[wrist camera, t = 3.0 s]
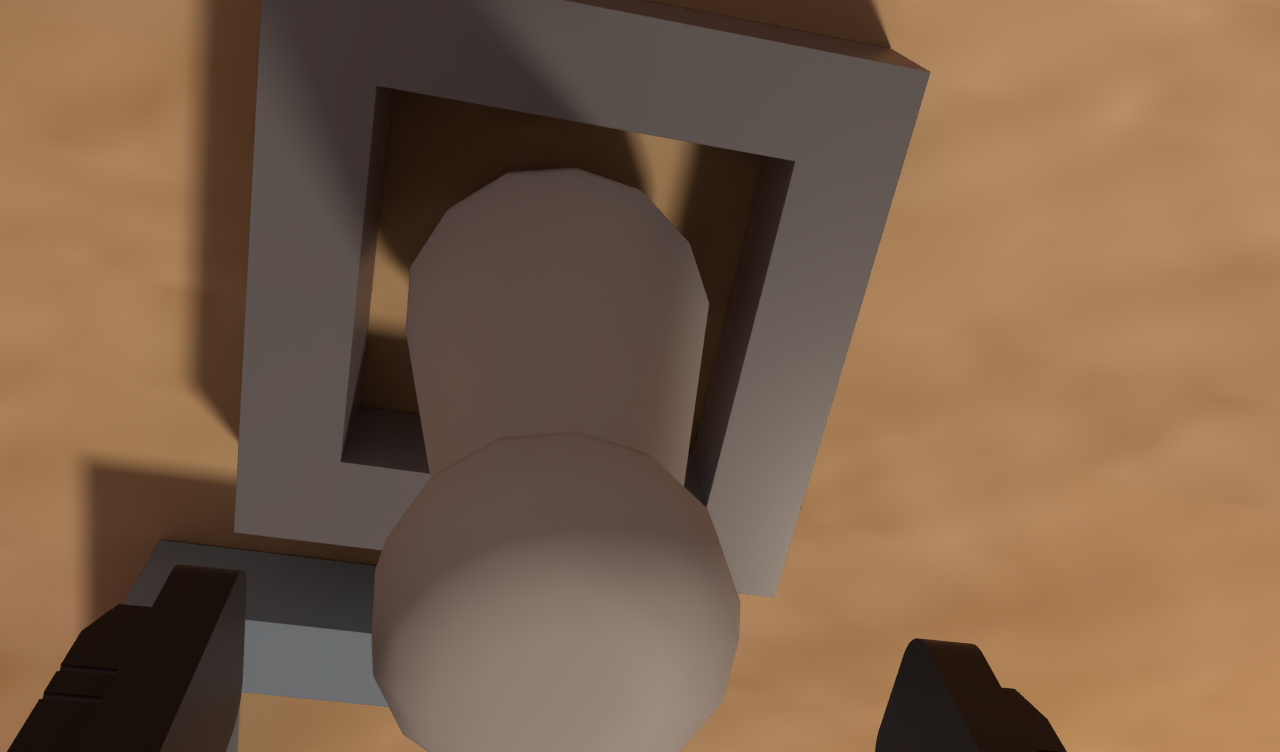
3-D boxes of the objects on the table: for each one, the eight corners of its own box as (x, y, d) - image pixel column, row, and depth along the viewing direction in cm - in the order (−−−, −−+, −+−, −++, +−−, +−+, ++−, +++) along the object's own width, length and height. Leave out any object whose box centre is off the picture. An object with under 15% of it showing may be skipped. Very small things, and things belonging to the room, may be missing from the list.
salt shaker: (607, 85, 22) (667, 353, 10) (739, 314, 24) (909, 745, 13) (363, 230, 23) (165, 626, 11) (513, 437, 25) (477, 945, 14)
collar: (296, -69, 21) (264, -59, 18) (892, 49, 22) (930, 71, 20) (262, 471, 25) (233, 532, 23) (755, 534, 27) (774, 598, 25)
